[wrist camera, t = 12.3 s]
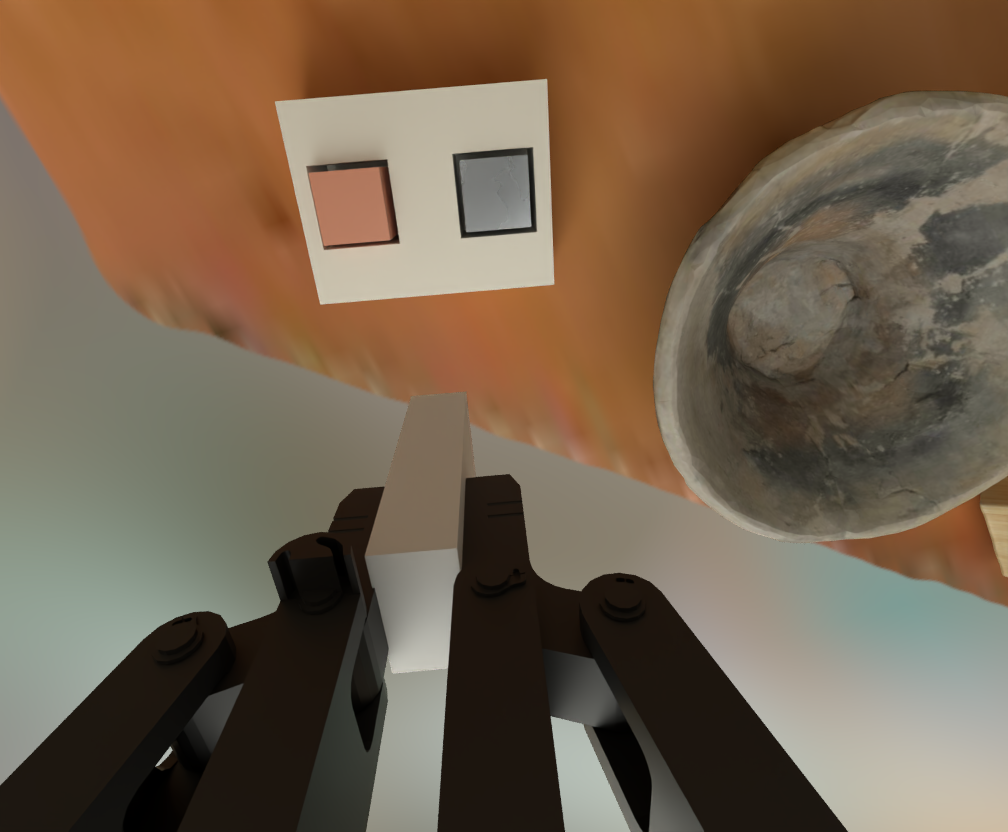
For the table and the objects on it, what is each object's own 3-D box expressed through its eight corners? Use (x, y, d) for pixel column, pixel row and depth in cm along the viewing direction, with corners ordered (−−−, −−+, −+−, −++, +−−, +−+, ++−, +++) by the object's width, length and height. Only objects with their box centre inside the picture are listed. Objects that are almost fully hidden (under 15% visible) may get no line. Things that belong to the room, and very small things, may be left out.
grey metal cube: (461, 160, 37) (459, 160, 33) (522, 155, 37) (527, 154, 33) (467, 225, 39) (466, 232, 35) (525, 220, 39) (531, 226, 35)
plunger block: (304, 110, 37) (274, 101, 31) (537, 91, 37) (547, 79, 31) (340, 286, 42) (320, 304, 37) (544, 268, 42) (554, 284, 37)
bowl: (602, 131, 38) (670, 114, 25) (973, 93, 38) (1245, 55, 25) (606, 458, 50) (653, 568, 36) (891, 429, 50) (1045, 529, 36)
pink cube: (327, 171, 36) (308, 172, 32) (389, 166, 36) (378, 166, 32) (340, 236, 38) (323, 245, 34) (399, 231, 38) (390, 240, 34)
